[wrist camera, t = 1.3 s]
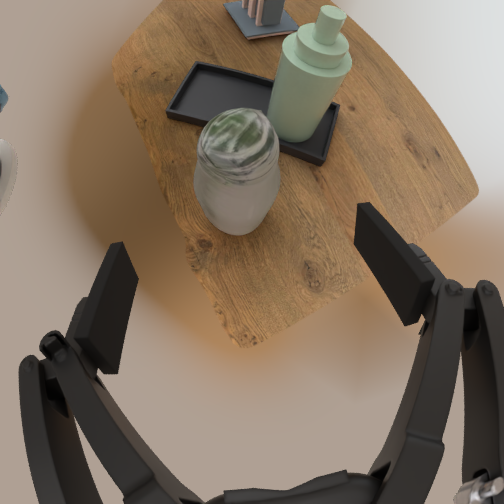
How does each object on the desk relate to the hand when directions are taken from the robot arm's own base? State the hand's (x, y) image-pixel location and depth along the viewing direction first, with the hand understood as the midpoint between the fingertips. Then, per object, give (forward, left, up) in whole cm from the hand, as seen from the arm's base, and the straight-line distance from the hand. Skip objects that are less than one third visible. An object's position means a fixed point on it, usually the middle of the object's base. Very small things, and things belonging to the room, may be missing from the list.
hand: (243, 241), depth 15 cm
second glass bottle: (-17, +25, -32) cm, 44 cm away
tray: (-23, +20, -33) cm, 45 cm away
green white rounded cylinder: (-8, +6, -33) cm, 35 cm away
